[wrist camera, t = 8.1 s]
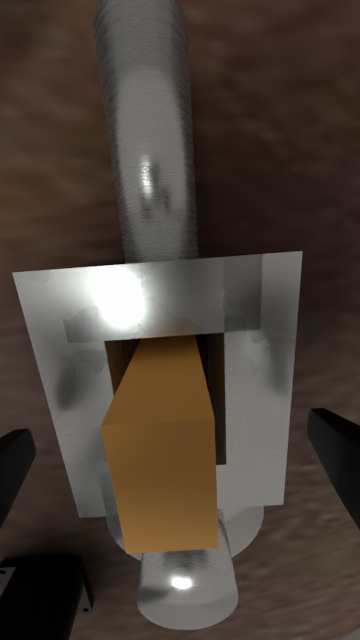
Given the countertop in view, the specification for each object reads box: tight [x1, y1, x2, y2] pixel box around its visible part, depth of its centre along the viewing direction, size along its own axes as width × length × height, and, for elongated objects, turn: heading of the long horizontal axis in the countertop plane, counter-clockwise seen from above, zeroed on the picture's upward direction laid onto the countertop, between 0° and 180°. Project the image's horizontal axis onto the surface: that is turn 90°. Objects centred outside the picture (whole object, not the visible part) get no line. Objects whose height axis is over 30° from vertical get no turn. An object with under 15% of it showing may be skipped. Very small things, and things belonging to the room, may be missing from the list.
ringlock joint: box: [12, 0, 303, 630], centre depth 10 cm, size 26×9×6 cm, turn 4°
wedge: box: [101, 334, 219, 554], centre depth 9 cm, size 4×2×8 cm, turn 4°
